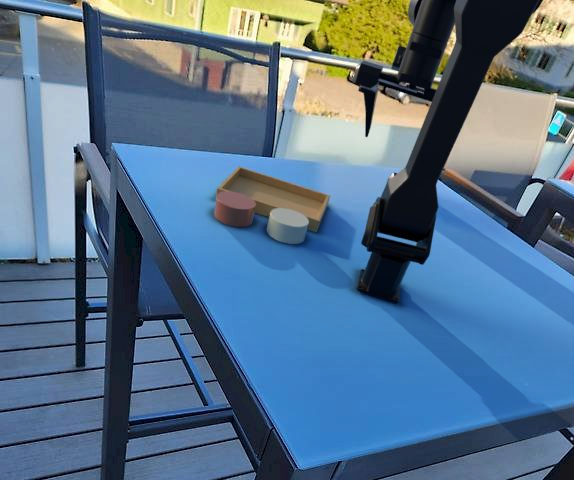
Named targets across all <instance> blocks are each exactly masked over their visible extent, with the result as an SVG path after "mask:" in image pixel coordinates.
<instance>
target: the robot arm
mask: <svg viewBox="0 0 574 480" xmlns="http://www.w3.org/2000/svg"><path fill="white" fill-rule="evenodd" d="M543 2H544V0H410V1H409V3H408V9H407V16H408V20H409V22H410V25H411V26H412V30H411V33H410V35H409V39H408V42H407V45H406V46H403V45H400V44H398V46H397V48H396V52H395V54H394V58H393V60H392V63H391V66H390V67H391V69H390V70H392V71H395V72H397V74H396V75H393V74H390V73H386V72H384V71H383V70H384V66H383V65H380V64H376V63H374V62H370V61H368V60H362V61H361V62H359V63H358V64H357V65H356V67H355V70H354V73H353V77H352V81H351V83H352V84H355V85H358V86H359V87H358V90H357V91H358V92H359V93H362V94H363V101H364V110H365V118H364V119H365V121H364V123H365V126H364V128H365V132H364V137H365V138H368V137H369V134H370V131H371V128H372V124H373V117H374V113H375V108H376V102H377V98H378V95H379V94H378V93H379V89H380V88H379V86H380V87H383V88H387V89H389V90H393V91H396V92H399V93H401V94H402V93H403V94H405V95H408V96H411V97H415V98H418V99H420V100H421V99H422V100H424V101H428V102H430V105H429V107H428V109H427V113H426V115H425V117H424V120H423V123H422V125H421V127H420V130H419V133H418V135H417V138H416V140H415V142H414V145H413V147H412V149H411V153H410V155H409V158H408V160H407V163H406V165H405V167H403V169H401V170H400V171H399V172H392V173H391V174H390V175H389V176H388V178H387V180H386V184H385V186H384V188H383V191H382V193H381V195H380V196H377V197H376V200H375V202H373V204H372V205H371V206H370V207H369V211H368V215H367V220H366V225H365V230H364V233H363V236H362V238H361V242H360V244H361V246H363V247H365V248H366V252H369V253H370V256H369V258H368V262H367V263H366V266H365V268H364V269H363V268H361V269H360V270H359V274H358V279H357V284H356V291H357V292H360V293H363V294H365V295H369V296H372V297H375V298H378V299H381V300H385V301H387V302H391V303H394V304H399V302H400V299H401V298H400V296H401V284H402V282H403V280H404V278H405V275H406V273H407V270H408V268H409V266H410V264H411V262H412V263H416V264H419V265H422V266H424V264H426V261H427V260H428V259H429V257H430V256H431V250H432V244H433V243H432V242H433V238H434V233H435V227H436V220H437V212H438V210H439V199H438V190H437V184H438V181H439V180H440V177H441V176H442V175H441V174H442V172H443V171H444V168H445V166H446V164H447V161H448V159H449V157H450V156H451V153H452V151H453V148H454V147H455V144H456V142H457V140H458V137H459V135H460V133H461V131H462V130H463V126H464V124H465V123H466V120H467V118H468V115H469V113H470V111H471V109H472V107H473V104H474V102H475V100H476V98H477V96H478V94H479V91H480V90H481V87H482V85H483V83H484V80H485V78H486V76H487V74H488V72H489V69H490V67H491V65H492V64H493V61H494V59H495V57H496V56H498V54H501V52H502V51H504V49H506V48H507V47H508V46H509V45H510V44H511V43H513V42H514V41H515V40H516V39H517V38H518V37H519V36H521V35H522V33H523V32H524V30H525V28H526V27H527V25H528V22H529V21H530V19H531V17H532V15H533V14H534V13H536V12H537V10H538V9H539V8H540V7H541V5H542V3H543ZM453 30H455V42H454V45H453V47H452V49H451V53H450V55H449V58H448V60H447V62H446V65H445V68H444V69H443V73H442V75H441V78H440V80H439V82H438V85H437V87H436V88H433V87H432V86H433V84H434V81H435V78H436V75H437V73H438V70H439V68H440V65H441V62H442V59H443V57H444V54H445V51H446V48H447V46H448V43H449V40H450V38H451V35H452V32H453ZM400 83H404V84H405V85H403V84H400ZM378 234H381V235H386V236H390V237H393V238H398V239H401V240H406V241H409V242H414V243H415V245H414V244H411V243H407V242H403V241H399V240H394V239H390V238H386V237H382V236H378Z"/></svg>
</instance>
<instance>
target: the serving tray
mask: <svg viewBox="0 0 574 480" xmlns="http://www.w3.org/2000/svg"><path fill="white" fill-rule="evenodd" d="M226 191H230V192H237V193H241V194H244V195H246V196H249V197H250V198H252V199H253V200H254V201H255V203H256V207H255V213H254V214H258V215H260V216H263V217H267V218H269V216H270V212H271V211H272V210H273V209H277V208H285V209H291V210H294V211H297V212H299V213H301V214H303V215H304V216H305V217H307V219H308V220H309V224H308V228H307V231H310V232H314V233H317V232H318V229H319V227H320V225H321V223H322V220H323V217H324V215H325V212H326V210H327V208H328V205H329V201H330V198H331V195H330V194H327V193H325V192H322V191H318V190H315V189H312V188H309V187H305V186H302V185H300V184H296V183H292V182H290V181H286V180H284V179H280V178H277V177H274V176H271V175H268V174H265V173H261V172H258V171H256V170H252V169H250V168H246V167H244V166H237V167H236V168H235V169H234V171H232V173H230V174H229V175H228V176H227V177H226V179H224V181H223V182H222V183H221V184H220V185H219V186H218V187H217V188H216V194H215V197H216V196H217V194H218V193H220V192H226Z"/></svg>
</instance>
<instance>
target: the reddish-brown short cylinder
mask: <svg viewBox="0 0 574 480" xmlns="http://www.w3.org/2000/svg"><path fill="white" fill-rule="evenodd" d="M255 207H256V203H255V201H254V200H253V199H252V198H250V197H249V196H246V195H244V194H241V193H237V192H230V191H226V192H220V193H218V194H217V196H216V195H215V203H214V212H213V215H214V216H213V217H214V218H215V219H216V220H217V221H219V222H220V223H222V224H224V225H226V226H231V227H235V228H247V227H250V226H251V225H252V224H253V222H254V218H255V214H256V213H255Z"/></svg>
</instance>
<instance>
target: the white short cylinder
mask: <svg viewBox="0 0 574 480" xmlns="http://www.w3.org/2000/svg"><path fill="white" fill-rule="evenodd" d="M308 224H309V220H308V219H307V217H305V216H304V215H303V214H301V213H299V212H297V211H294V210H291V209H285V208H277V209H273V210H272V211H271V212H270V216H269V217H268V221H267V226H266V233H267V235H268V236H269V237H270V238H272V239H274V240H275V241H278V242H280V243H284V244H288V245H299V244H302V243H303V242H304V241H305V239H306V235H307V231H308V230H307V228H308Z"/></svg>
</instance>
